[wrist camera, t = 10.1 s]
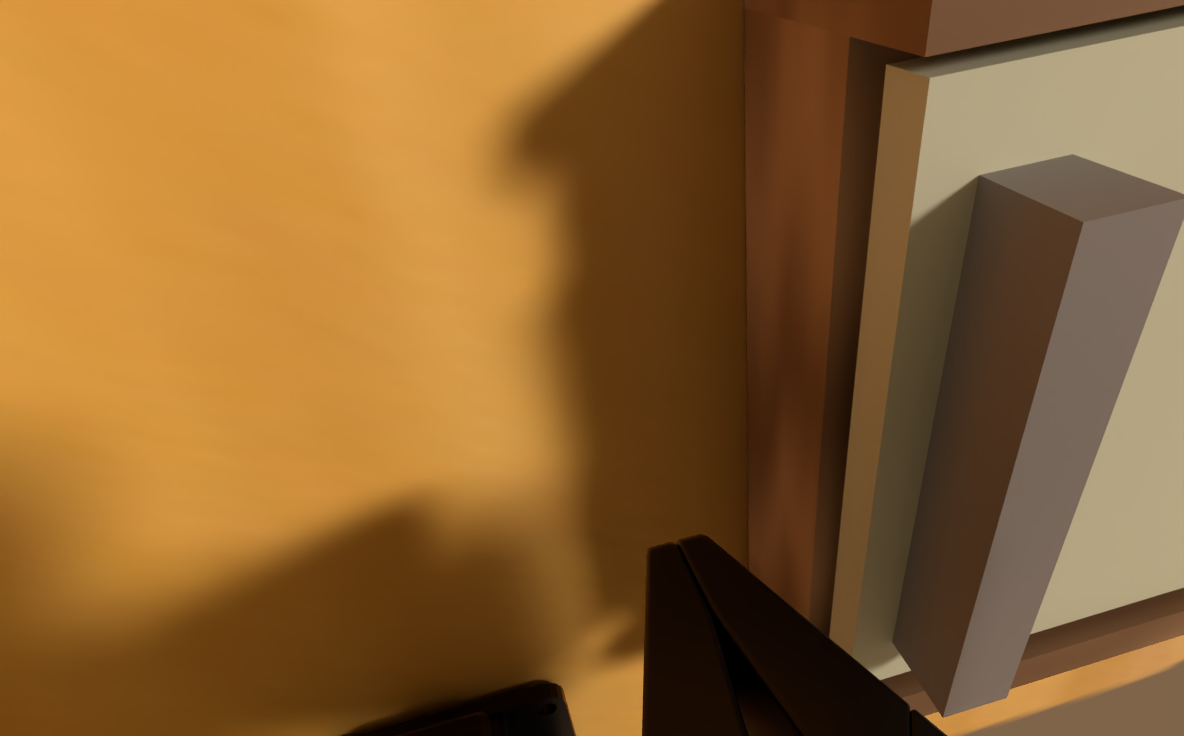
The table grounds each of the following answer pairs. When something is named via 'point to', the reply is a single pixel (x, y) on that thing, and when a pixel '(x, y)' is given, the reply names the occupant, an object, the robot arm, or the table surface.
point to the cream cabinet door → (1017, 354)
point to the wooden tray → (855, 282)
